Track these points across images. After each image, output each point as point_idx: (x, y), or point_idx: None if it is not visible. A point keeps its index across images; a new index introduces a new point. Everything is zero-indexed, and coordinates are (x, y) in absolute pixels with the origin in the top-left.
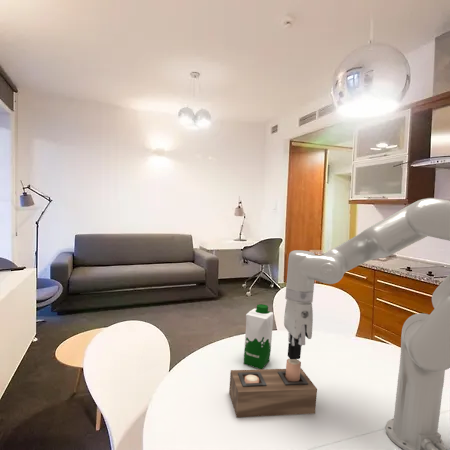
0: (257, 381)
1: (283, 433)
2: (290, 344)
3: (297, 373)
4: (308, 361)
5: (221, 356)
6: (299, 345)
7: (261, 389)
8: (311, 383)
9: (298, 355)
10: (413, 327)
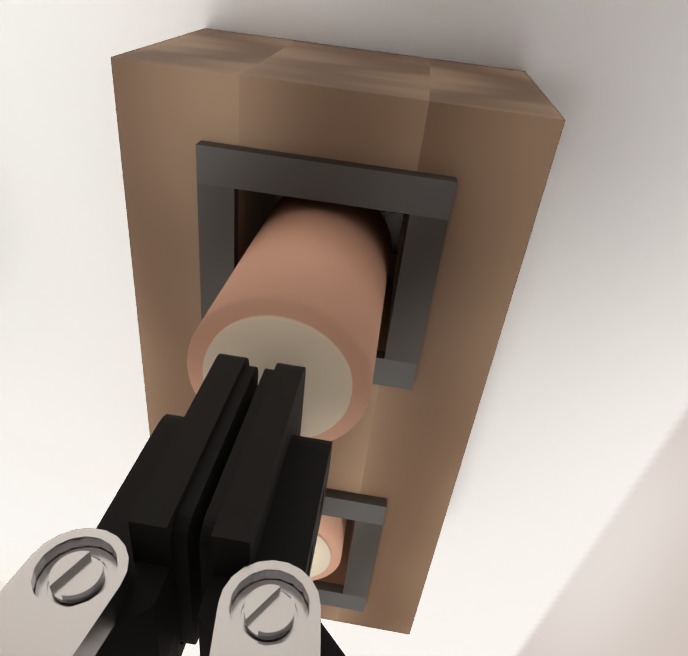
0: (334, 537)
1: (607, 374)
2: (187, 641)
3: (378, 312)
4: None
5: None
6: (331, 651)
7: (418, 537)
8: (446, 123)
9: (328, 454)
10: None
